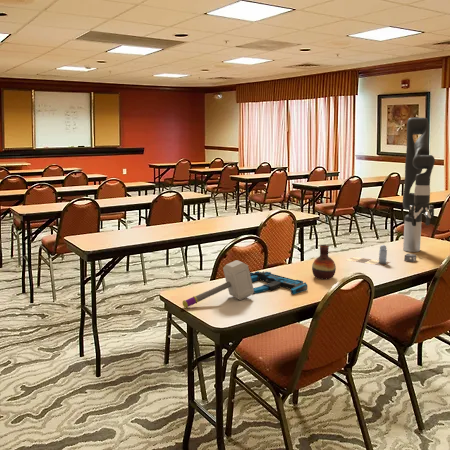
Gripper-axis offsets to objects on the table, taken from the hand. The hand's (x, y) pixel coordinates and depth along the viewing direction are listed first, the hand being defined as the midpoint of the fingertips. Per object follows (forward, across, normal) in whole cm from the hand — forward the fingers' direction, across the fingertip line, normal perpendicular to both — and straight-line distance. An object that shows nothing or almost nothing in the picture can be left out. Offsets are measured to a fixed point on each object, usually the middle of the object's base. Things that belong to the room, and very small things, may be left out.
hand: (420, 225), depth 276 cm
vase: (+23, +59, +4) cm, 63 cm away
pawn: (+19, +20, -4) cm, 28 cm away
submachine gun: (+24, +90, +6) cm, 93 cm away
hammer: (+26, +118, +19) cm, 122 cm away
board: (+20, +24, -10) cm, 33 cm away
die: (+20, +3, -3) cm, 21 cm away
